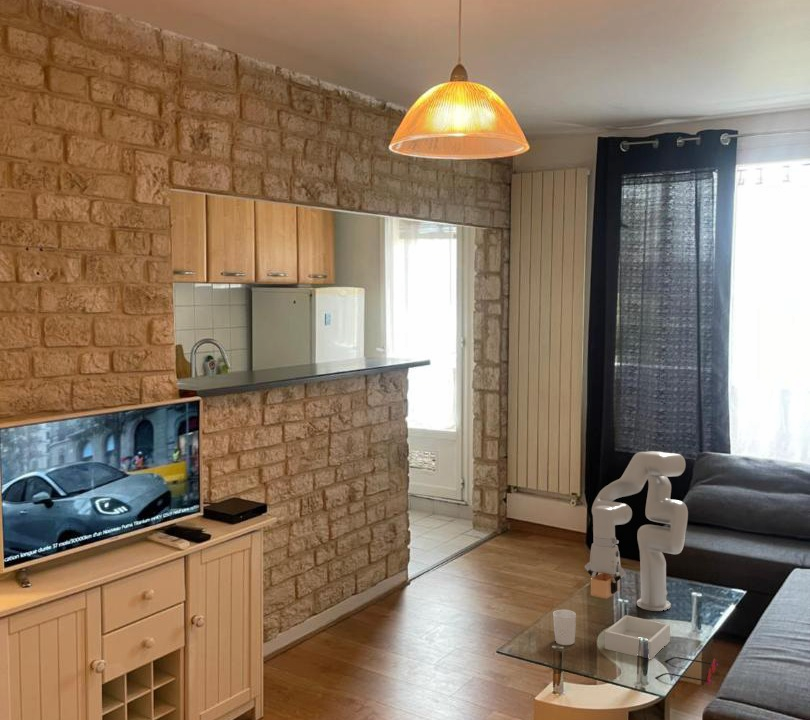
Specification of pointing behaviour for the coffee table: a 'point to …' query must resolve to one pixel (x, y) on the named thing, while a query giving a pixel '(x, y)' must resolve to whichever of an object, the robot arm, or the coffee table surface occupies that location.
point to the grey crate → (636, 635)
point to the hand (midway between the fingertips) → (605, 590)
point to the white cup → (564, 626)
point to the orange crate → (602, 585)
